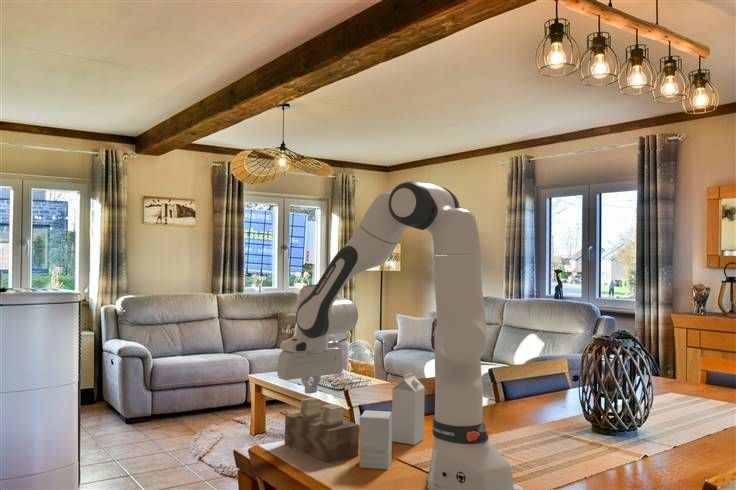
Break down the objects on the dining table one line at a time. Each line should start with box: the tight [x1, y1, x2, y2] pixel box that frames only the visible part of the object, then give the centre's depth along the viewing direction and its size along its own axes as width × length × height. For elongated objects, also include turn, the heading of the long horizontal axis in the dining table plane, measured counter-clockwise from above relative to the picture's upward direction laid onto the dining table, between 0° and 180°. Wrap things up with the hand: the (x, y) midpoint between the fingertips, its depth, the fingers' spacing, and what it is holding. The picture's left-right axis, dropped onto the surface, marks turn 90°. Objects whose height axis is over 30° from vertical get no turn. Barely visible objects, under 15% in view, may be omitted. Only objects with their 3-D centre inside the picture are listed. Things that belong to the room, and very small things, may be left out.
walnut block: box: [284, 411, 360, 464], centre depth 165 cm, size 20×10×8 cm, turn 40°
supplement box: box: [359, 409, 393, 470], centre depth 154 cm, size 7×7×13 cm
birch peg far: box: [299, 397, 322, 419], centre depth 169 cm, size 4×4×7 cm
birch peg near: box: [321, 403, 344, 427], centre depth 162 cm, size 4×4×7 cm
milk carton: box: [391, 372, 426, 446], centre depth 176 cm, size 7×7×19 cm
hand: (310, 392), depth 170 cm, fingers closed
